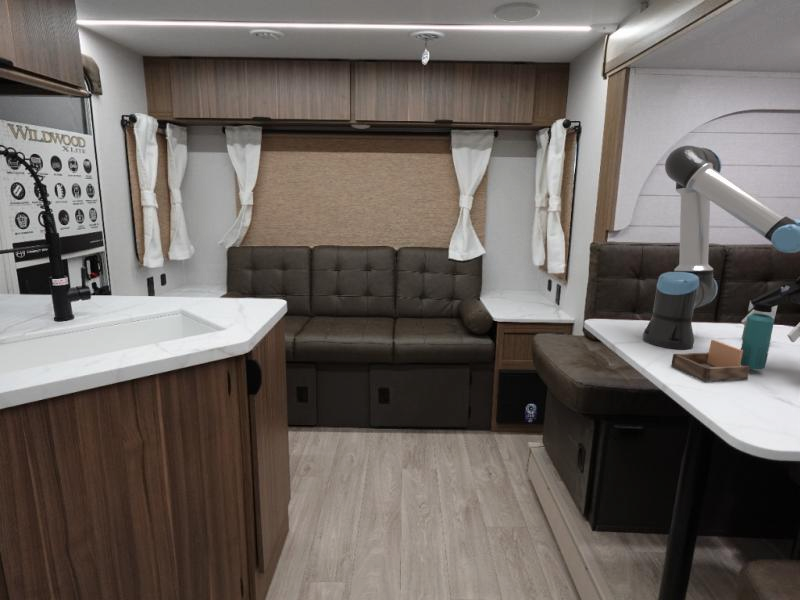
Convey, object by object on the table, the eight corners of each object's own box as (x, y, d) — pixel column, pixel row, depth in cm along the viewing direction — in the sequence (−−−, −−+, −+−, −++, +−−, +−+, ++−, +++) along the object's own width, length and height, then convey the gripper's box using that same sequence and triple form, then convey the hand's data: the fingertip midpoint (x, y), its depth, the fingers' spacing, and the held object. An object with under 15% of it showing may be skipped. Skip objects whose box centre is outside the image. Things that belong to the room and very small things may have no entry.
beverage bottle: (767, 376, 136) (782, 307, 132) (739, 372, 138) (754, 304, 134) (759, 368, 142) (774, 302, 138) (733, 365, 144) (746, 299, 140)
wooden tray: (710, 364, 144) (713, 352, 144) (747, 379, 133) (750, 366, 132) (671, 366, 141) (673, 353, 140) (704, 382, 130) (707, 369, 129)
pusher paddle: (709, 362, 142) (714, 339, 141) (738, 374, 134) (743, 350, 132) (706, 362, 142) (711, 339, 141) (735, 374, 133) (740, 350, 132)
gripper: (875, 297, 127) (818, 354, 126) (781, 279, 150) (732, 327, 150) (865, 277, 124) (806, 335, 124) (771, 262, 148) (722, 311, 148)
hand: (766, 331), depth 137 cm, fingers open, 13 cm apart
